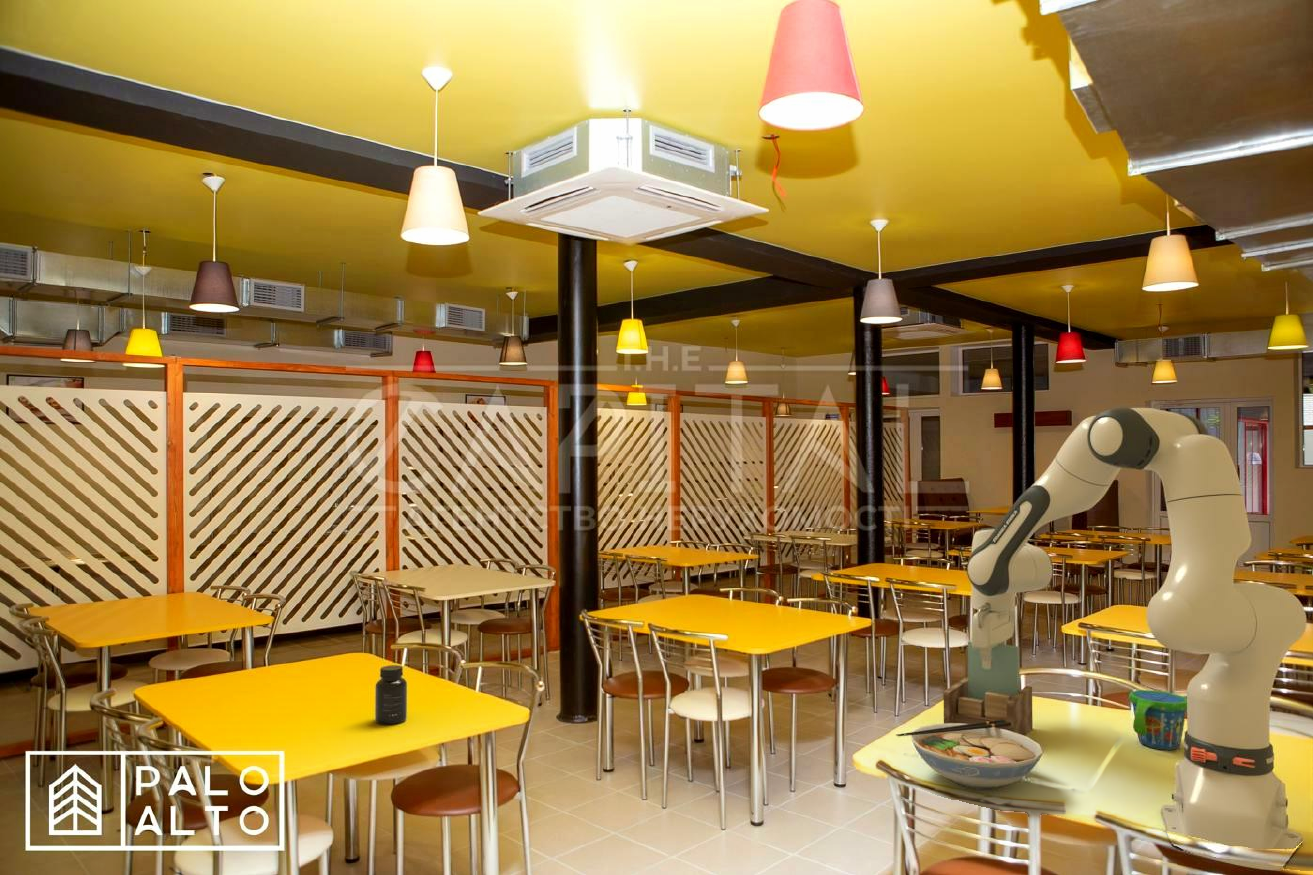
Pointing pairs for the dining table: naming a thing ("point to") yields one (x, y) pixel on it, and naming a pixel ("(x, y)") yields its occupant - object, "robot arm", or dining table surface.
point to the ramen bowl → (976, 752)
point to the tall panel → (993, 672)
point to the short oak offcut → (971, 706)
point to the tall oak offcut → (996, 705)
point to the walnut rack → (1016, 709)
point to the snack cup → (1158, 718)
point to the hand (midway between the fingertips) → (993, 664)
